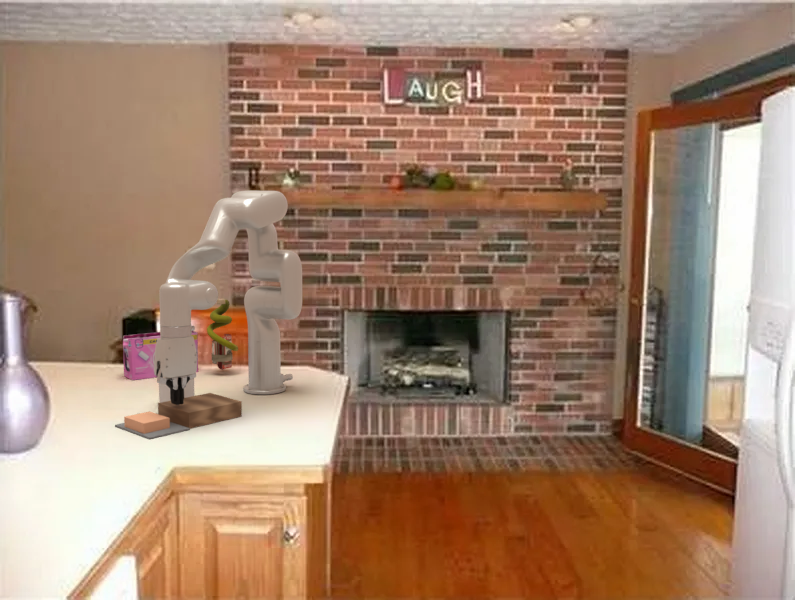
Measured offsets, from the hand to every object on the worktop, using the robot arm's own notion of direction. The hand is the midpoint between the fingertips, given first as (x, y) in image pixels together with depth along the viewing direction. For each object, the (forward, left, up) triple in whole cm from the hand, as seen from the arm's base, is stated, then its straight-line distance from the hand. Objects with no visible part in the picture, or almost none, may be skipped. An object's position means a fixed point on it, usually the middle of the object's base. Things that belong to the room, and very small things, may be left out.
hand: (177, 403), depth 195 cm
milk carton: (-11, -17, -5) cm, 21 cm away
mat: (+7, 0, -5) cm, 9 cm away
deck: (-7, 0, -5) cm, 8 cm away
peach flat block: (+8, 0, -2) cm, 9 cm away
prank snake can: (-44, -41, -5) cm, 60 cm away
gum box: (-29, -55, -5) cm, 62 cm away
